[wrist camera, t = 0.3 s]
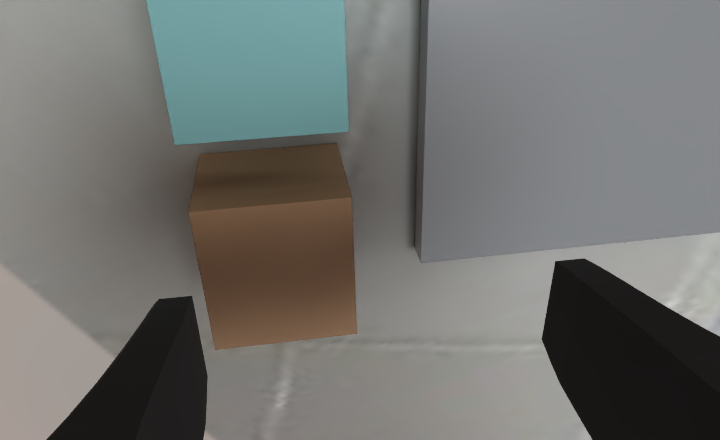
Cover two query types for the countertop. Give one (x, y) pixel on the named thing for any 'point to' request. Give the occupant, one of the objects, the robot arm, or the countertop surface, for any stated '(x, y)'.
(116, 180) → the countertop surface
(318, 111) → the teal brick
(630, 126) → the baseplate
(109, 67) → the countertop surface
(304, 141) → the countertop surface
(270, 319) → the walnut brick
